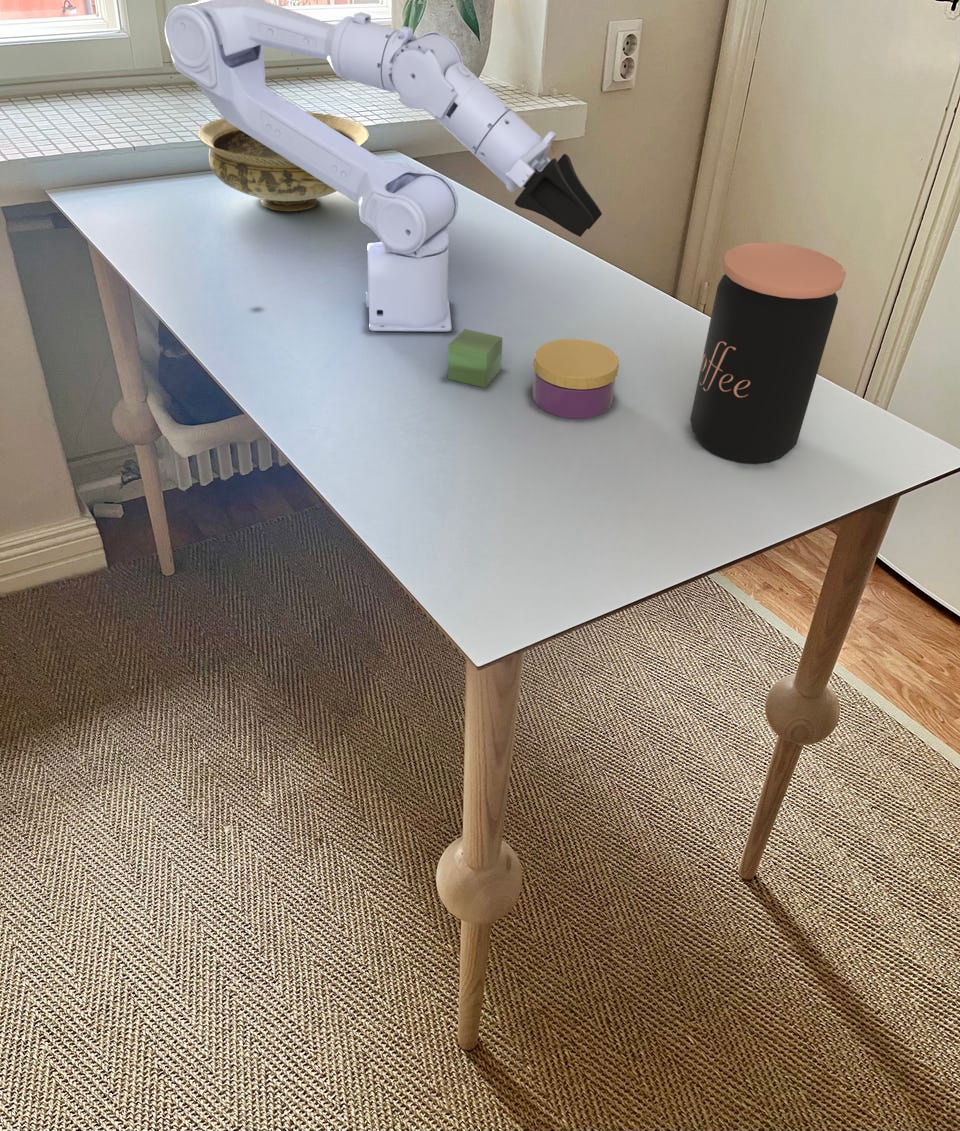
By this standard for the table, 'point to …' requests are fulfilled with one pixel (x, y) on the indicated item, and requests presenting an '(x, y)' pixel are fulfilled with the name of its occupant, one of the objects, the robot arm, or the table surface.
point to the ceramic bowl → (269, 164)
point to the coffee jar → (763, 350)
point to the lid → (576, 364)
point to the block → (474, 358)
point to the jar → (572, 399)
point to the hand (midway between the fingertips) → (591, 225)
